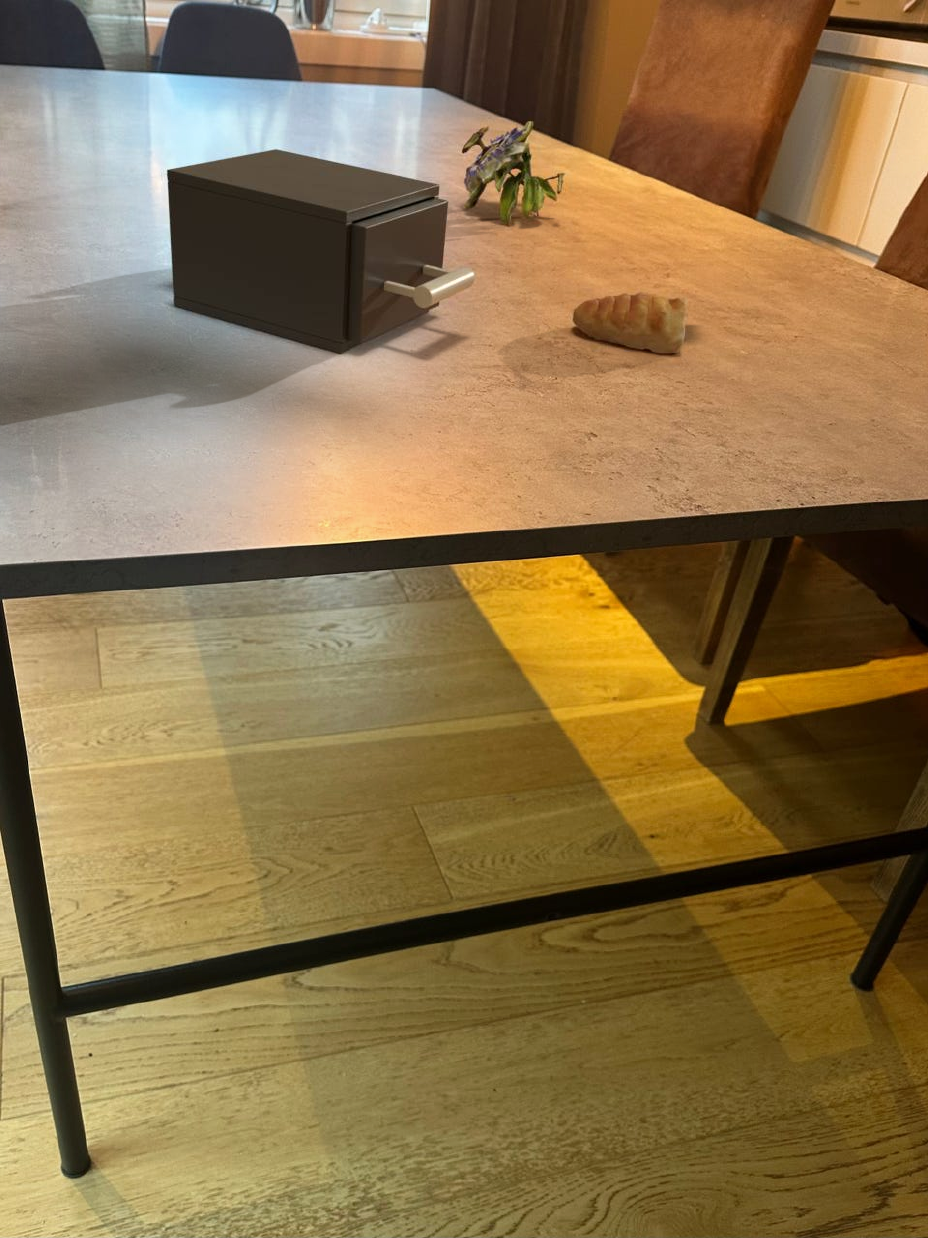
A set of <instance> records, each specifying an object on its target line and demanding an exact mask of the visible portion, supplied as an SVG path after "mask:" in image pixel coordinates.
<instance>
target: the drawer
mask: <svg viewBox="0 0 928 1238" xmlns="http://www.w3.org/2000/svg"><path fill="white" fill-rule="evenodd" d="M448 208H449V200H447V199H441V198H439V197H438V198H434V199H431V200H428V201H425V202H422V203H418V204H416V202H414V203H411V204H408V205H404V206H401V207H398V208H395V209H392V210H388V211H385V212H382V213H379V214H375V215H372V216H369V217H366V218H362V219H359V220H356V221H353V223H354V224H352V225H351V248H350V273H349V298H348V323H347V340H349V341H353V342H356V343H362V342H364V341H366V340H369V339H371V338H373V337H375V336H377V335H379V334H381V333H383V332H385V331H387V330H389V329H391V328H394V327H396V326H398V325H400V324H402V323H404V322H406V321H408V320H410V319H412V318H414V317H416V316H419V315H421V314H423V313H425V312H427V311H429V312H430V311H431V310H433V309H435V308H437V307H440V303H441V302H442V301H443V300H446V299H448V298H450V297H452V296H455V295H456V294H459V293H461V292H462V291H465V290H467V289H469V288H471V287H472V286H473V285H474V283H475V274H474V271H473V270H472V268H469V267H468V266H462V267H459V268H457V269H455V270H450V269H445V268H443V265H444V253H445V244H446V243H445V242H446V232H447V231H446V230H447V221H448V210H449V209H448ZM427 313H428V312H427ZM425 314H426V313H425ZM423 315H424V314H423ZM421 316H422V315H421ZM419 317H420V316H419ZM408 322H409V321H408ZM406 323H407V322H406ZM404 324H405V323H404ZM402 325H403V324H402ZM400 326H401V325H400ZM398 327H399V326H398ZM396 328H397V327H396ZM394 329H395V328H394ZM381 335H382V334H381ZM379 336H380V335H379ZM377 337H378V336H377ZM375 338H376V337H375ZM373 339H374V338H373ZM371 340H372V339H371ZM369 341H370V340H369Z"/></svg>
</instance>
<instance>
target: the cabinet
mask: <svg viewBox="0 0 928 1238" xmlns="http://www.w3.org/2000/svg"><path fill="white" fill-rule="evenodd" d="M166 175H167V176H166V177H167V179H166V180H167V195H168V214H169V215H168V216H169V233H170V235H169V236H170V252H171V254H170V255H171V256H170V257H171V270H172V271H171V273H172V290H173V291H172V292H173V293H172V294H173V307H177V308H181V309H185V310H188V311H192V312H194V313H198V314H202V315H205V316H208V317H211V318H214V319H218V320H222V321H226V322H229V323H233V324H235V325H240V326H243V327H247V328H249V329H254V330H257V331H261V332H264V333H268V334H271V335H275V336H278V337H281V338H285V339H288V340H292V341H295V342H299V343H302V344H306V345H310V346H313V347H316V348H319V349H323V350H326V351H330V352H334V353H337V354H344V353H346V352H348V351H350V350H352V349H354V348H356V347H358V346H361V345H363V344H365V343H367V342H369V341H371V340H373V339H376V338H377V337H380V336H381V335H383V334H386V333H388V332H390V331H392V330H394V329H396V328H398V327H400V326H403V325H404V324H407V323H408V322H411V321H412V320H414V319H416V318H419V317H421V316H423V315H426V314H427V313H429V312H430V310H429V311H427V312H425V313H423V314H421V315H419V316H416V317H414V318H412V319H410V320H408V321H406V322H404V323H402V324H400V325H398V326H396V327H394V328H391V329H389V330H387V331H385V332H383V333H381V334H379V335H377V336H375V337H373V338H371V339H369V340H366V341H364V342H362V343H356V342H353V341H349V340H347V323H348V298H349V273H350V248H351V225H352V222H353V221H356V220H359V219H362V218H366V217H369V216H372V215H375V214H379V213H382V212H385V211H388V210H392V209H395V208H398V207H401V206H404V205H408V204H411V203H414V202H416V204H418V203H422V202H425V201H428V200H431V199H434V198H438V199H439V197H440V196H439V194H440V186H441V185H440V184H439V183H434V182H431V181H429V182H428V181H424V180H420V179H416V178H411V177H407V176H403V175H397V174H392V173H387V172H383V171H378V170H373V169H371V168H365V167H361V166H355V165H351V164H347V163H341V162H337V161H332V160H328V159H323V158H318V157H314V156H309V155H305V154H301V153H300V154H299V153H296V152H291V151H285V150H281V149H277V148H275V149H274V148H273V149H269V150H264V151H259V152H254V153H249V154H242V155H239V156H233V157H227V158H221V159H217V160H211V161H206V162H201V163H195V164H190V165H185V166H180V167H175V168H170V169H167V170H166Z"/></svg>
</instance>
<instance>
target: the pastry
mask: <svg viewBox="0 0 928 1238" xmlns="http://www.w3.org/2000/svg"><path fill="white" fill-rule="evenodd" d="M687 300H688V299H686V298H685V297H684V298H682V297H680V296H678V297H676V298H669V297H665V296H661V295H659V294H655V293H648V292H645V291H644V292H641V291H640V292H638V293H635V294H630V293H627V292H626V293H621V294H619V295H606V296H604V297H603V298H593V299H588V300H584V301H582V303H580V304H578V306H577V307H576V308H574V309H573V312H572V313H573V315H572V323H573V324H574V325H575V327H577V329H579V331H581V332H582V333H584V334H586V336H587V337H588V338H590V337H591V338H594V340H596V341H604V342H605V341H606V342H608V343H610V344H612V345H614V344H617V345H621V346H625V347H626V348H631V349H637V350H644V349H646V350H650V351H651V352H652V353H656V354H657V353H658V354H674V353H675V354H676V353H677V354H678V353H679V351H680V350H681V349H682V346H683V344H684V341H685V340H684V339H685V334H686V312H687V308H688V301H687Z"/></svg>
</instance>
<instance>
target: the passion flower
mask: <svg viewBox="0 0 928 1238" xmlns="http://www.w3.org/2000/svg"><path fill="white" fill-rule="evenodd" d="M533 127H534V121H533V120H532V121H530V120H529V121H527V122H526V123H525V124H524V127H523V128H522V129H521V130H518V129H519V128H518V126H516V127H513V129H511V130H510V132H509V131H506V133H505V134H501V136H496V139H494V140H493V139H490V144H488V145H487V146H486V145H485V144H484V141H483V140H482V139H483V138H484V135H486V133H488V131H489V129H490V127H489V125H485V127H482V128H480V129H479V130H477V131H476V132H473V133H472V135H471V137H470V138H469V139H468V140H467V141H466V143H464V145H463V148H462V149H461V153H462V154H465V153H468V152H469V151H470V150H471V148H473V147H475V146H479V147H480V149H481V150H482V151H481V152H480V153H479V154H477V157H476V159H475V161H474V162H473V163H471V165H470V166H468V167H467V168H466V169H465V178H464V179H463V180H464V181H463V184H464V187H465V190H466V191H467V192H468V193H469V194H468V196H467V197H466V199H465V200H466V201H465V203H464V207H465V208H466V209H468V210H469V209H473V208H475V207H476V205H477V204H478V202H479V199H480V198H481V196H482V195H483V193H484V192H485V190H486V188H487V186H488V184H490V183H492V182H493V181H494V186H495V189H496V191H497V192H498V193H500V196H499V197H500V198H499V216H500V217H499V218H500V220H501V221H502V222H504V223H506V226H507V227H509V226H510V225H511V220H512V215H513V214H514V212H515V210H516V207H517V205H518V201H519V200H518V199H519V192H520V186H523V190H522V196H521V213H520V214H521V220H525V219H526V218H528V217H529V216H530V215H531V214H532V213H534V214H536V215H537V216H536V217H540V215H539V211H540V210H541V209H542V207H543V205H544V204H545V199H546V197H547V198H549V199H551V200H552V201H554V202H557V201H558V197H557V195H560V194H561V192H562V189H563V184H564V177H565V175H566V173H565V172H563V173H562V172H560V173H557V174H556V175H554V176H550V177H547V178H543V177H542V176H541V177H540V176H533V175H532V165H531V162H532V161H531V160H532V154H531V151H530V141H529V139H530V137H529V136H530V134H531V132H532V131H533V129H534V128H533ZM513 170H519V172H517V174H516V175H515V174H513V173H512V171H513ZM508 175H509V176H508ZM507 176H508V177H507ZM555 179H557V182H558V183H557V186H556V187H557V189H556V192H555V190H554V189H553V187H552V185H551V184H550V182H549V180H555Z"/></svg>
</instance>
